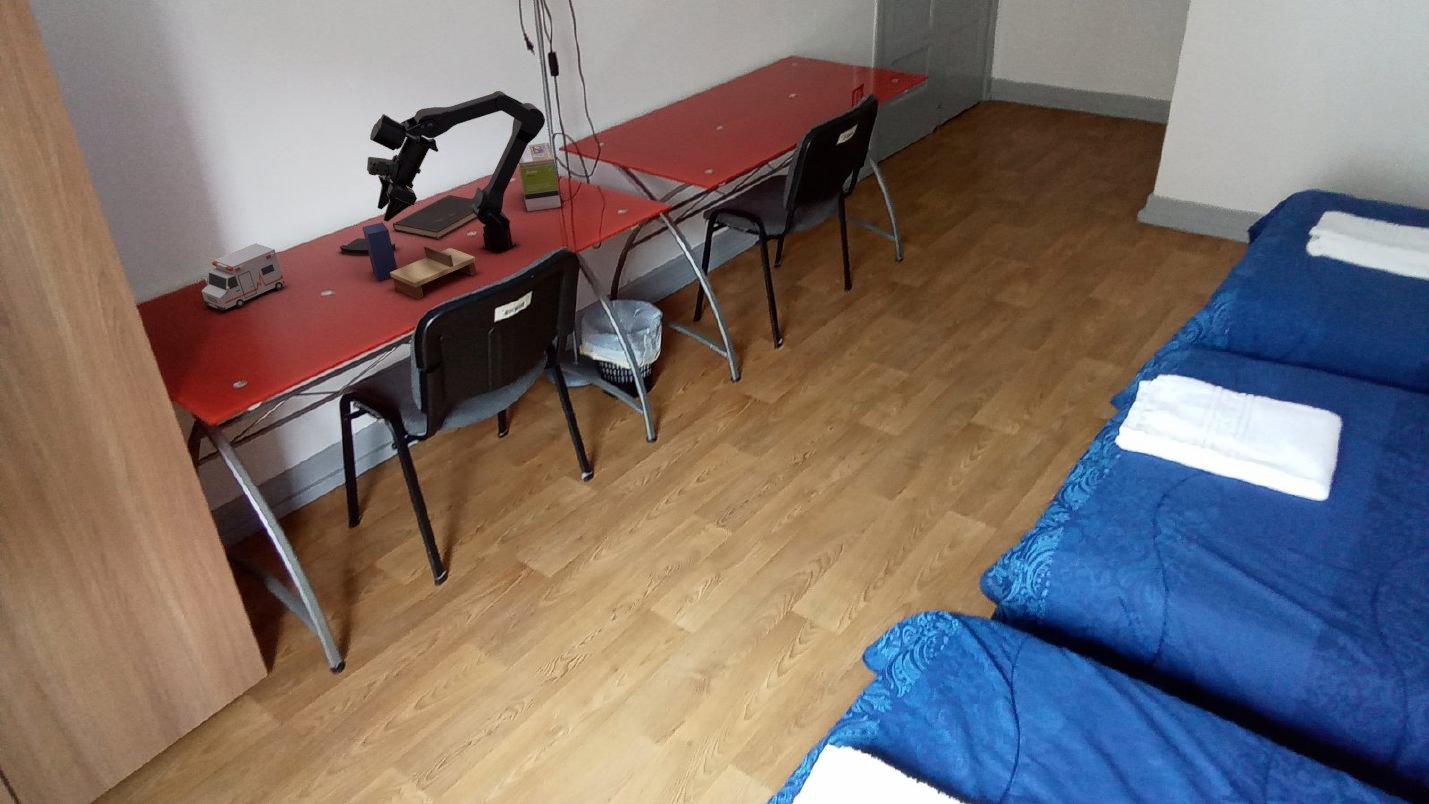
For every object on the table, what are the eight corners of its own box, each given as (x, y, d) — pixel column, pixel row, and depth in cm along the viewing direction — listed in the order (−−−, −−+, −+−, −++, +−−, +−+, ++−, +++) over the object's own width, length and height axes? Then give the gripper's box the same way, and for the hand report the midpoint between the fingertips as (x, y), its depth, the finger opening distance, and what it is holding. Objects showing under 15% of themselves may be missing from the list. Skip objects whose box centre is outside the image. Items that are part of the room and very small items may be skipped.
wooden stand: (453, 263, 253) (448, 236, 249) (478, 273, 247) (473, 245, 243) (393, 289, 241) (387, 260, 237) (418, 300, 236) (412, 271, 232)
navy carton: (393, 268, 252) (382, 222, 245) (398, 276, 248) (388, 229, 241) (373, 273, 250) (362, 226, 243) (378, 281, 246) (367, 234, 239)
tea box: (522, 194, 293) (515, 145, 285) (556, 190, 295) (549, 141, 287) (526, 212, 281) (519, 161, 273) (561, 207, 283) (555, 157, 275)
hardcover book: (491, 209, 283) (490, 202, 282) (438, 239, 266) (437, 231, 265) (448, 202, 290) (447, 194, 289) (393, 230, 273) (391, 222, 272)
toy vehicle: (203, 306, 237) (189, 268, 232) (265, 278, 249) (254, 242, 244) (226, 315, 233) (213, 276, 227) (289, 287, 244) (277, 249, 239)
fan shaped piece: (382, 258, 257) (381, 253, 256) (339, 253, 261) (338, 247, 260) (401, 246, 264) (400, 240, 263) (359, 240, 268) (357, 235, 267)
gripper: (372, 133, 243) (345, 189, 246) (385, 154, 228) (356, 213, 232) (414, 153, 249) (387, 207, 253) (429, 175, 235) (400, 232, 238)
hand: (382, 214), depth 244 cm, fingers open, 9 cm apart
